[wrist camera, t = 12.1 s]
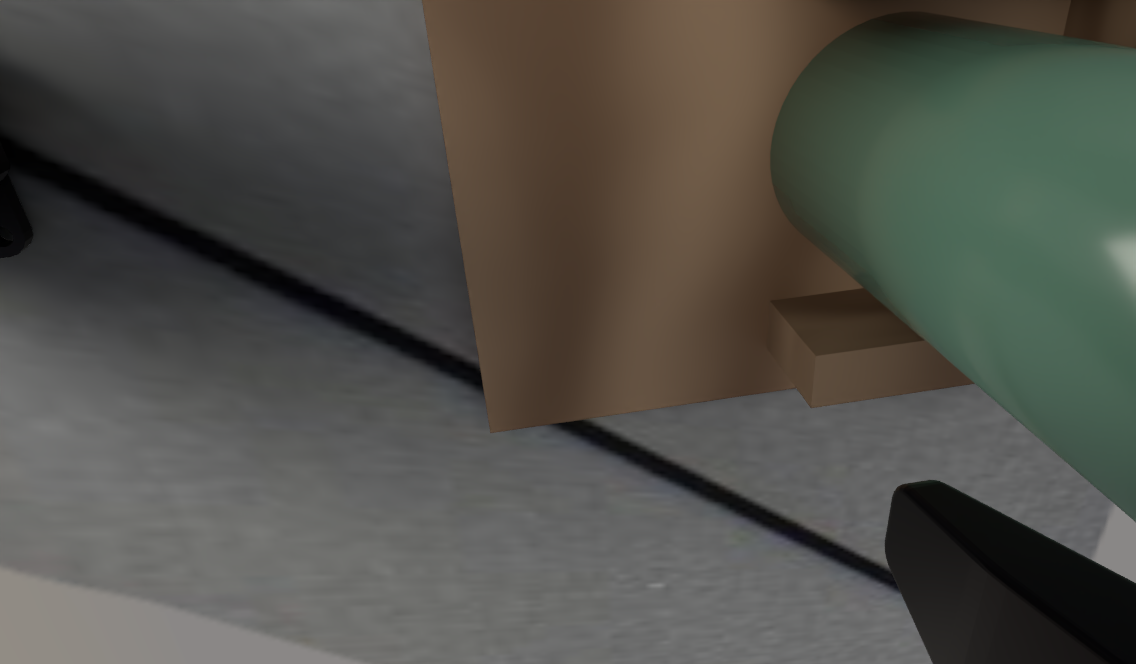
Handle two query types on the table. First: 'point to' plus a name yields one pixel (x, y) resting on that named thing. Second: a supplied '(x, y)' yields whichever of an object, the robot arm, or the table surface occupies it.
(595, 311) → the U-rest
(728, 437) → the table surface
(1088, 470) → the oil bottle
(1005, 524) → the robot arm
